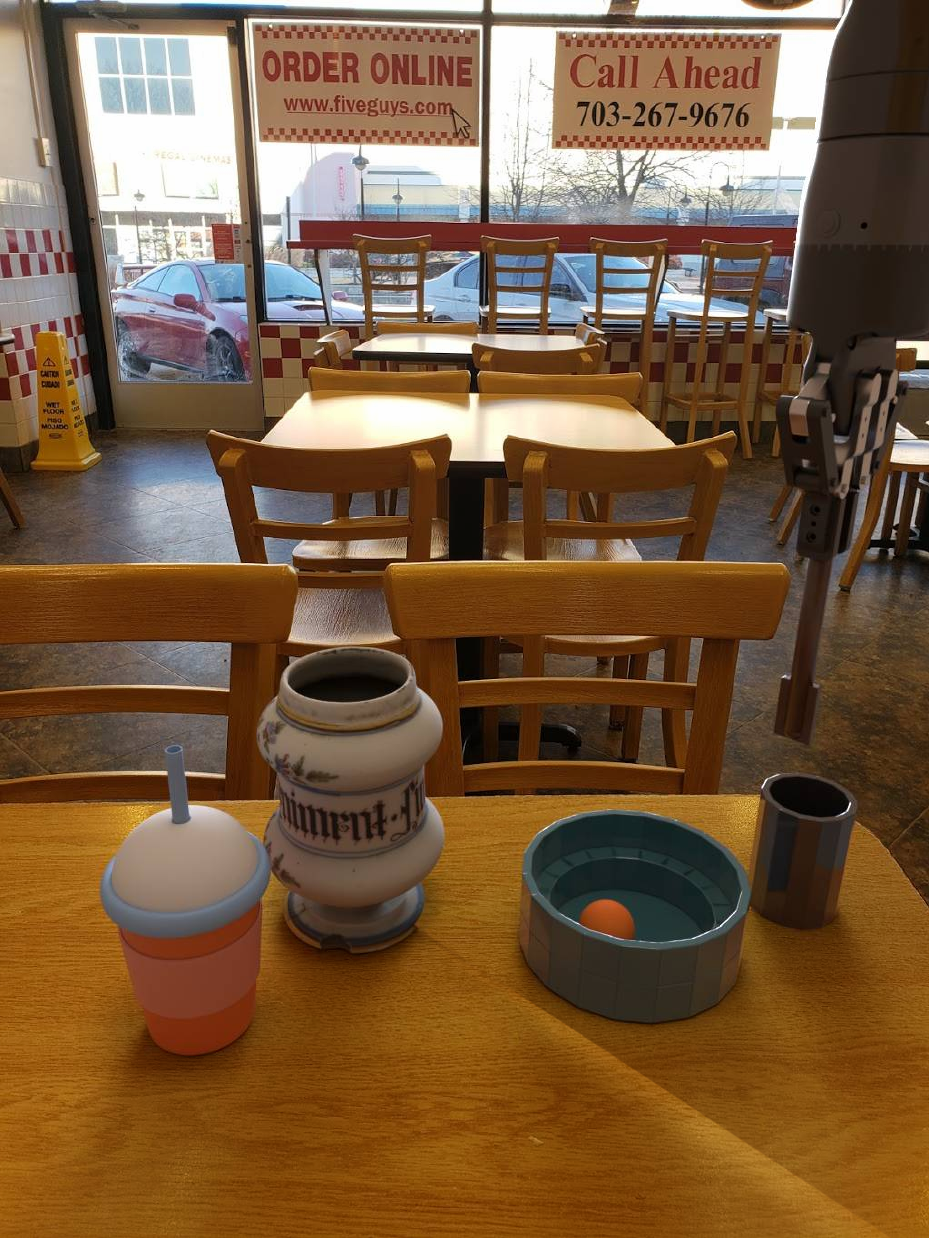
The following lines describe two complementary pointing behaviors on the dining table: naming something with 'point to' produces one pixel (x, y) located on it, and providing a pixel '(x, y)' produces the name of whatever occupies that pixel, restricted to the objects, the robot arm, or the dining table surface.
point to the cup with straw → (190, 919)
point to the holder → (800, 849)
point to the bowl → (634, 914)
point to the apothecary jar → (351, 797)
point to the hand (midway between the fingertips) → (822, 552)
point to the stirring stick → (805, 660)
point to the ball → (608, 919)
